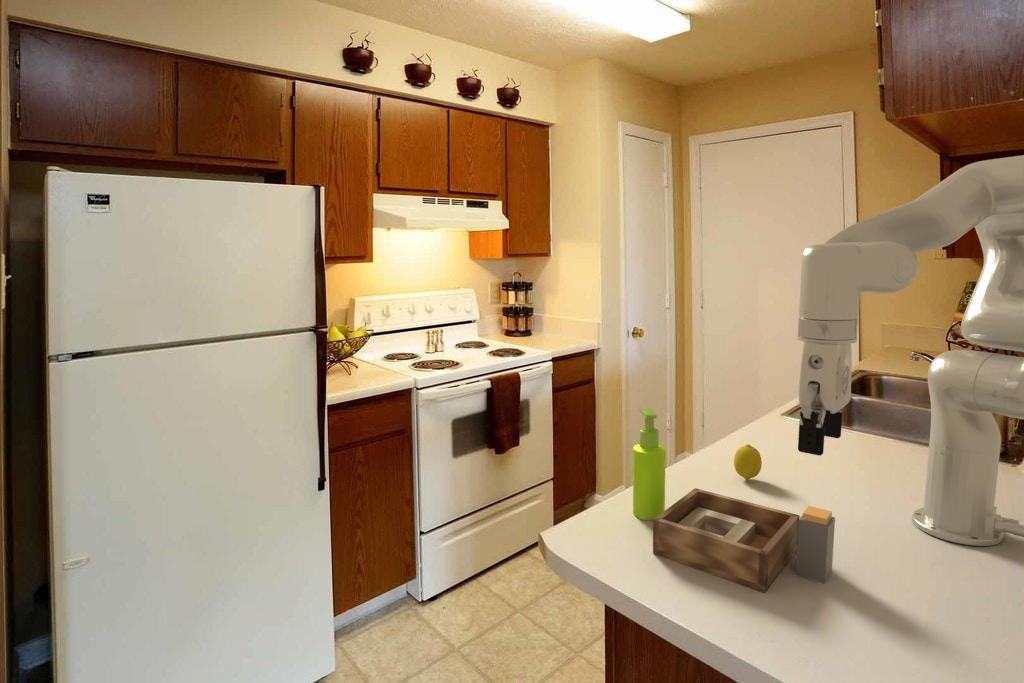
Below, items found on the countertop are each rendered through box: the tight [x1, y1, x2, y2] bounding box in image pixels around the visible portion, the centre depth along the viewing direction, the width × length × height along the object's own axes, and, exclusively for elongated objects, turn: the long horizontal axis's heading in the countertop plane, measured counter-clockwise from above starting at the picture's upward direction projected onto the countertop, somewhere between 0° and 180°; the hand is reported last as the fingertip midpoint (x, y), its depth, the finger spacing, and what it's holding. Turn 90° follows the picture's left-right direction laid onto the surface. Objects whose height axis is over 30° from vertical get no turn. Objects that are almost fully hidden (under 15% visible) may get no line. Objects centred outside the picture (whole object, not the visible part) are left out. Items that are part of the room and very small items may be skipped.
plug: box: [795, 505, 836, 584], centre depth 88 cm, size 4×4×10 cm
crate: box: [652, 487, 801, 594], centre depth 95 cm, size 18×16×6 cm
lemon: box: [733, 443, 763, 481], centre depth 124 cm, size 6×6×8 cm
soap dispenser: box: [632, 408, 666, 522], centre depth 109 cm, size 6×7×20 cm
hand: (819, 444), depth 86 cm, fingers open, 9 cm apart
